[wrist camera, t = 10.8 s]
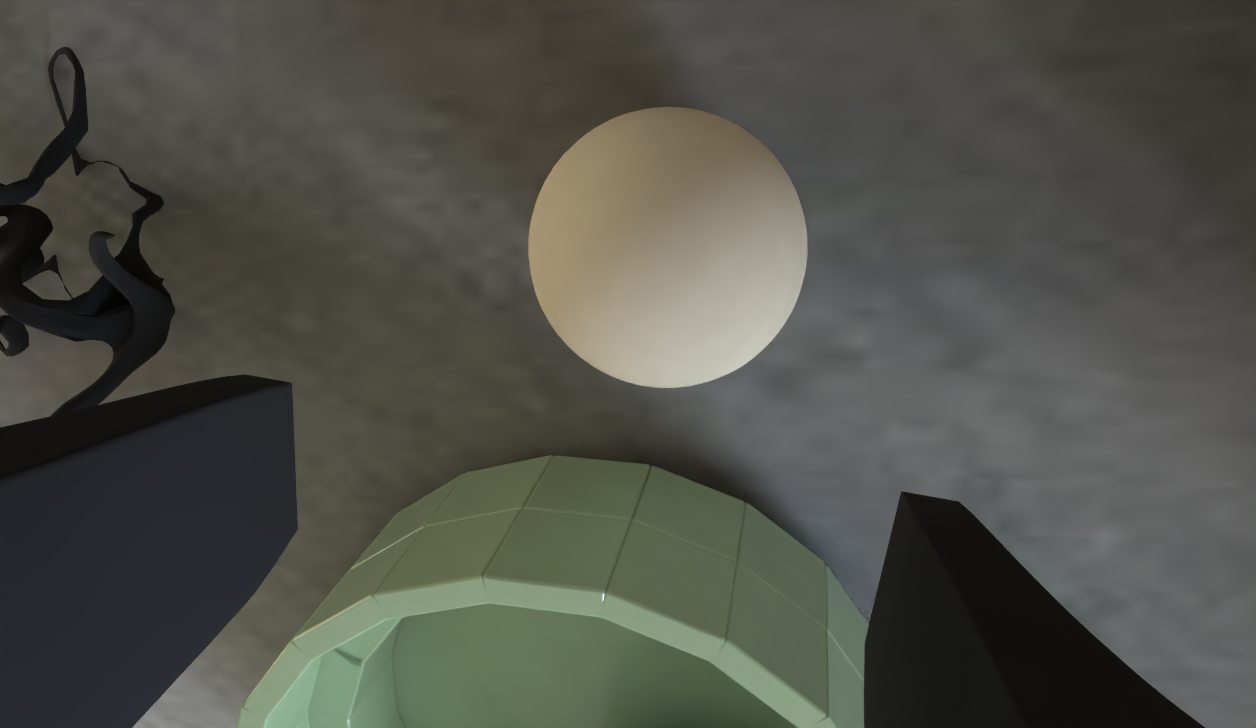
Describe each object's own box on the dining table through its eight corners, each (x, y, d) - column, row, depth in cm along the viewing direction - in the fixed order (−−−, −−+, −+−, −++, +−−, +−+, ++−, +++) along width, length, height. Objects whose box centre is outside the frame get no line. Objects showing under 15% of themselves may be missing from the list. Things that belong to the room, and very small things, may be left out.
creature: (-32, 276, 24) (184, 457, 23) (-291, 314, 19) (-38, 546, 18) (33, -7, 21) (289, 182, 20) (-256, -45, 16) (55, 201, 15)
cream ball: (662, 40, 18) (609, 52, 13) (861, 201, 18) (877, 267, 14) (522, 238, 20) (434, 307, 15) (704, 379, 20) (671, 489, 16)
